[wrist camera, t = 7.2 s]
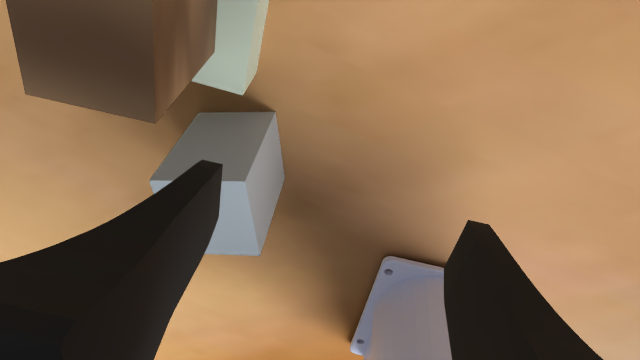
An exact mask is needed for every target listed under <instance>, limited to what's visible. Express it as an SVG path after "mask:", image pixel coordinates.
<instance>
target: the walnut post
mask: <svg viewBox="0 0 640 360" xmlns="http://www.w3.org/2000/svg"><path fill="white" fill-rule="evenodd" d="M217 2H218V0H6V4H7V9H8V13H9V18H10V23H11V28H12V32H13V37H14V42H15V47H16V51H17V56H18V61H19V66H20V71H21V75H22V80H23V85H24V90H25V94H27V95H31V96H35V97H40V98H44V99H49V100H53V101H58V102H62V103H66V104H71V105H75V106H80V107H84V108H88V109H93V110H97V111H102V112H106V113H111V114H115V115H119V116H124V117H128V118H133V119H137V120H142V121H146V122H150V123H155V124H156V122H157V121H158V120H159V119H160V118H161V116H162V115H163V114H164V113H165V112H166V110H167V109H168V108H169V107H170V106H171V104H172V103H173V102H174V101H175V99H176V98H177V97H178V96H179V95H180V93H181V92H182V91H183V90H184V89H185V87H186V86H187V85H188V84H189V83H190V81H191V80H192V79H193V78H194V76H195V75H196V74H197V73H198V72H199V70H200V69H201V68H202V67H203V66H204V64H205V63H206V62H207V61H208V59H209V58H210V57H211V56H212V55H213V53H214V52H215V37H216V20H217Z"/></svg>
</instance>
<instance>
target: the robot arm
mask: <svg viewBox="0 0 640 360" xmlns="http://www.w3.org/2000/svg"><path fill="white" fill-rule="evenodd" d="M222 170H223V164H220V163H215V162H211V161H207V160H201V161H199V162H197V163H196V164H195V165H193V166H192V167H191V168H189V169H188V170H187V171H185V172H184V173H183V174H181V175H180V176H179V177H177V178H176V179H175V180H173V181H172V182H171V183H169V184H168V185H166V186H165V187H163V188H162V189H161V190H159V191H158V192H156V193H155V194H153V195H152V196H150V197H149V198H147V199H146V200H144V201H143V202H141V203H139V204H138V205H136V206H134V207H133V208H131V209H130V210H128V211H126V212H125V213H123V214H121V215H119V216H117V217H116V218H114V219H112V220H110V221H108V222H106V223H104V224H102V225H100V226H98V227H96V228H94V229H92V230H90V231H87V232H85V233H83V234H80V235H78V236H75V237H73V238H71V239H68V240H66V241H63V242H61V243H58V244H56V245H53V246H50V247H48V248H45V249H42V250H39V251H36V252H33V253H30V254H27V255H24V256H21V257H18V258H14V259H11V260H8V261H4V262H0V360H154V358H155V355H156V352H157V350H158V348H159V345H160V343H161V340H162V338H163V335H164V333H165V330H166V328H167V325H168V323H169V321H170V319H171V316H172V314H173V312H174V310H175V308H176V306H177V304H178V302H179V301H180V299H181V297H182V295H183V293H184V291H185V289H186V287H187V286H188V284H189V282H190V280H191V278H192V276H193V274H194V272H195V270H196V269H197V267H198V265H199V263H200V261H201V259H202V257H203V255H204V253H205V251H206V249H207V248H208V245H209V243H210V240H211V237H212V235H213V232H214V229H215V227H216V224H217V221H218V218H219V208H220V195H221V183H222ZM386 269H390V271H389V270H386ZM350 350H351V352H353V353H355V354H358V355H363V356H364V359H363V360H603V359H602V358H601V357H600V356H599V355H598V354H596V353H595V352H594V351H593V350H592V349H591V348H590V347H589V346H588V345H587V344H586V343H585V342H584V341H583V340H582V339H581V338H580V337H579V336H578V335H577V334H576V333H575V332H574V331H573V330H572V329H571V328H570V327H569V326H568V325H567V324H566V323H565V321H564V320H563V319H562V318H561V317H560V316H559V315H558V314H557V313H556V311H555V310H554V309H553V308H552V307H551V306H550V304H549V303H548V302H547V301H546V300H545V298H544V297H543V296H542V295H541V294H540V292H539V291H538V290H537V289H536V287H535V286H534V285H533V284H532V282H531V281H530V280H529V278H528V277H527V276H526V274H525V273H524V272H523V270H522V269H521V268H520V266H519V265H518V264H517V262H516V261H515V260H514V258H513V257H512V255H511V254H510V253H509V251H508V250H507V248H506V247H505V246H504V244H503V243H502V241H501V240H500V239H499V237H498V236H497V235H496V233H495V232H494V230H493V229H492V228H491V227H490V225H488V224H484V223H479V222H475V221H470V220H468V222H467V224H466V226H465V228H464V229H463V231H462V233H461V235H460V237H459V239H458V241H457V243H456V245H455V247H454V249H453V251H452V253H451V255H450V257H449V259H448V261H447V263H446V265H445V267H444V268H442V267H438V266H434V265H429V264H425V263H420V262H416V261H411V260H407V259H403V258H398V257H394V256H388V257H385V258H384V259H383V261H382V263H381V266H380V268H379V271H378V274H377V276H376V279H375V282H374V284H373V287H372V289H371V292H370V295H369V297H368V300H367V302H366V305H365V308H364V310H363V313H362V316H361V318H360V321H359V323H358V326H357V329H356V331H355V334H354V336H353V339H352V342H351V344H350Z"/></svg>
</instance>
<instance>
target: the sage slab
mask: <svg viewBox="0 0 640 360" xmlns="http://www.w3.org/2000/svg"><path fill="white" fill-rule="evenodd" d="M268 4H269V0H218V2H217V20H216V37H215V52H214V53H213V55H212V56H211V57H210V58H209V59H208V61H207V62H206V63H205V64H204V66H203V67H202V68H201V69H200V70H199V72H198V73H197V74H196V75H195V76H194V78H193V79H192V80H191V81H193V82H196V83H200V84H204V85H207V86H211V87H214V88H218V89H221V90H225V91H229V92H232V93H236V94H239V95H243V94H244V93H245V91H246V89H247V88H248V86H249V84H250V83H251V81H252V79H253V77H254V76H255V74H256V72H257V67H258V61H259V55H260V50H261V44H262V38H263V32H264V27H265V21H266V15H267V9H268Z"/></svg>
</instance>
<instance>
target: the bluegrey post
mask: <svg viewBox="0 0 640 360" xmlns="http://www.w3.org/2000/svg"><path fill="white" fill-rule="evenodd" d="M201 160H207V161H211V162H215V163H220V164H223V170H222V183H221V195H220V208H219V218H218V221H217V224H216V227H215V229H214V232H213V235H212V237H211V240H210V243H209V245H208V248H207V249H206V251H205V253H204V254H221V255H250V256H260V254H261V251H262V248H263V245H264V242H265V239H266V236H267V233H268V230H269V226H270V223H271V220H272V217H273V214H274V211H275V208H276V205H277V201H278V198H279V195H280V192H281V189H282V186H283V183H284V180H285V175H284V168H283V160H282V153H281V146H280V139H279V132H278V125H277V118H276V112H200V113H198V114H197V115H196V117H195V118H194V119H193V121H192V122H191V124H190V125H189V126H188V128H187V129H186V130H185V132H184V133H183V135H182V136H181V137H180V139H179V140H178V141H177V143H176V144H175V146H174V147H173V148H172V150H171V151H170V152H169V154H168V155H167V157H166V158H165V159H164V161H163V162H162V163H161V165H160V166H159V168H158V169H157V170H156V172H155V173H154V174H153V176H152V177H151V179H150V180H149V182H150V185H151V187H152V190H153V193H154V194H155V193H156V192H158V191H159V190H161V189H162V188H163V187H165V186H166V185H168V184H169V183H171V182H172V181H173V180H175V179H176V178H177V177H179V176H180V175H181V174H183V173H184V172H185V171H187V170H188V169H189V168H191V167H192V166H193V165H195V164H196V163H197V162H199V161H201Z"/></svg>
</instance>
